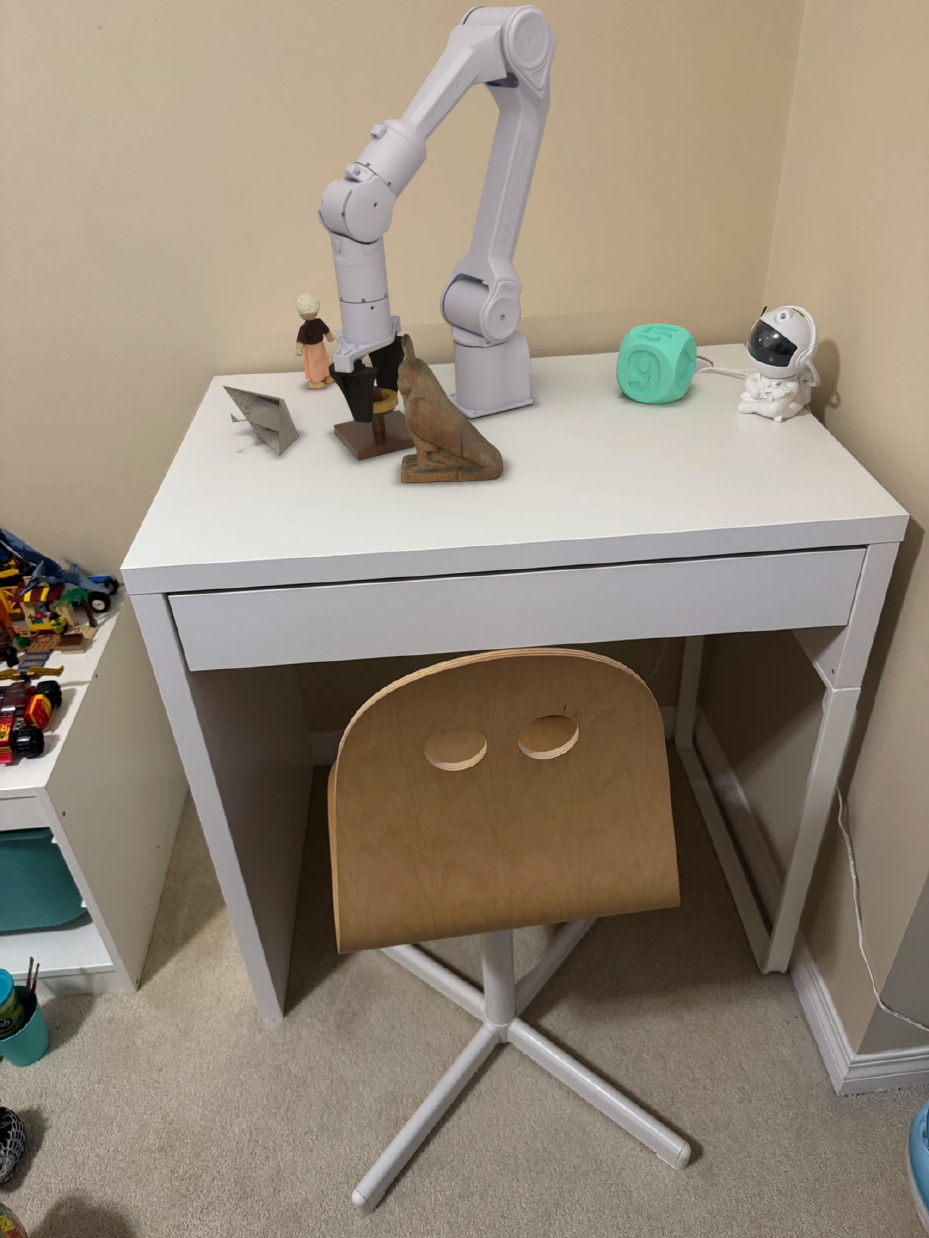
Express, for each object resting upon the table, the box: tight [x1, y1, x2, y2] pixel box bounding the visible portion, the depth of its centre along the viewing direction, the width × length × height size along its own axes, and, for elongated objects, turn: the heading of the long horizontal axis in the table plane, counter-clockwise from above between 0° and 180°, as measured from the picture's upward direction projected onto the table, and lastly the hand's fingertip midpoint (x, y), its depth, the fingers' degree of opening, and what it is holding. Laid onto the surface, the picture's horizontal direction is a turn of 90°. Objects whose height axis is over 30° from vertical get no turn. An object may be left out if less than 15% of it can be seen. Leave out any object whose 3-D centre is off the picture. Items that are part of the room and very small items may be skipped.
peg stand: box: [333, 385, 415, 461], centre depth 111 cm, size 9×9×7 cm
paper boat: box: [222, 385, 300, 456], centre depth 112 cm, size 12×6×9 cm
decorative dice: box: [615, 323, 698, 405], centre depth 118 cm, size 8×8×8 cm
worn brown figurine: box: [397, 333, 504, 484], centre depth 100 cm, size 12×6×18 cm, turn 87°
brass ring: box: [373, 388, 399, 413], centre depth 110 cm, size 6×6×1 cm
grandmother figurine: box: [295, 292, 335, 390], centre depth 125 cm, size 8×4×13 cm, turn 160°
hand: (376, 409), depth 110 cm, fingers open, 7 cm apart
